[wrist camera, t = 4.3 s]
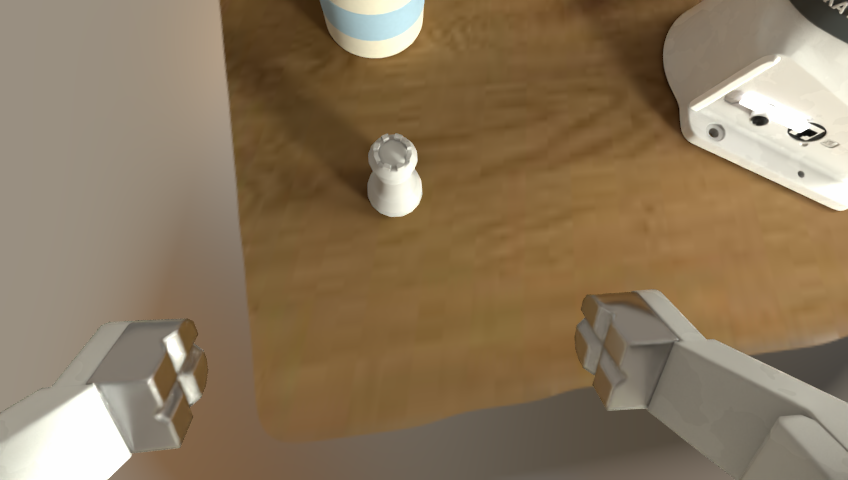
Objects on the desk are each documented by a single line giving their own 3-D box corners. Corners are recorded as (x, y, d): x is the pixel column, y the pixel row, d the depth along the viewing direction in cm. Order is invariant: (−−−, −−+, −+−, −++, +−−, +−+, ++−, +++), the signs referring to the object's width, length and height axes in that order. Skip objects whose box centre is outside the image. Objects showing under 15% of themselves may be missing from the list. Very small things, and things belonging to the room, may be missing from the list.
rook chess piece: (432, 183, 36) (439, 139, 28) (404, 228, 35) (405, 196, 27) (385, 157, 36) (380, 107, 28) (357, 201, 35) (344, 162, 27)
